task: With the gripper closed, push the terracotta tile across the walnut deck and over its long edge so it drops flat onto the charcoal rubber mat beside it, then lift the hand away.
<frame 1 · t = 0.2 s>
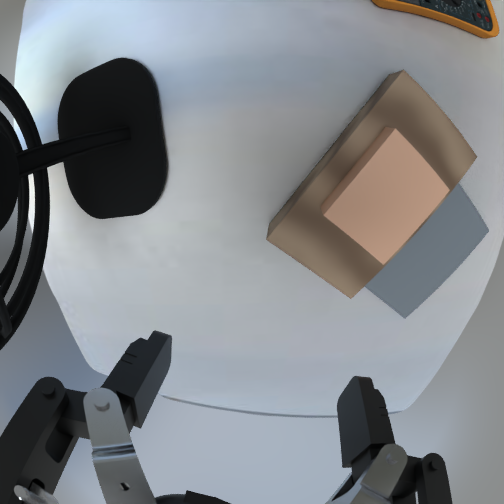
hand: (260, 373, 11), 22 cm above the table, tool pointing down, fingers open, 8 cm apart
tile: (383, 193, 23), point 4 cm above the table, touching deck
mat: (427, 250, 29), on the table
desk fan: (104, 139, 28), on the table
deck: (372, 183, 27), on the table
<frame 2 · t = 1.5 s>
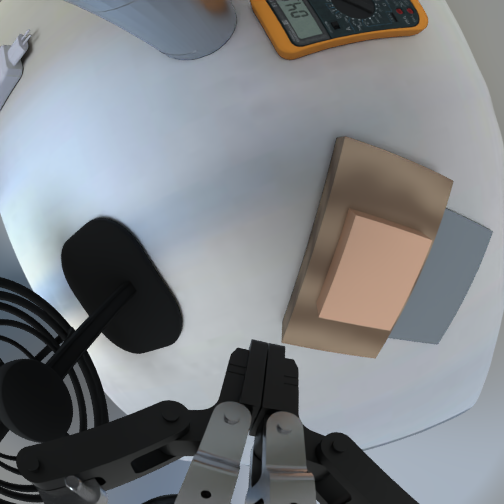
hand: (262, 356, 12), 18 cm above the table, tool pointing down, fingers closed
tile: (370, 268, 25), point 4 cm above the table, touching deck
charger: (16, 67, 23), on the table
mat: (436, 282, 28), on the table
multimeter: (342, 15, 19), on the table
desk fan: (114, 290, 35), on the table
deck: (360, 252, 28), on the table
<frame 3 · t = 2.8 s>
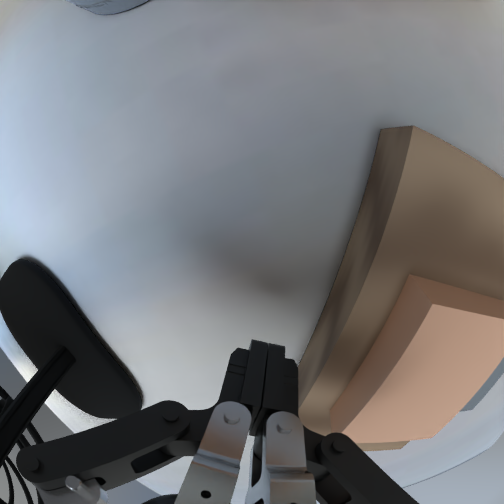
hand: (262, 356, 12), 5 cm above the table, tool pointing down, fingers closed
tile: (422, 363, 12), point 4 cm above the table, touching deck
mat: (489, 346, 16), on the table
desk fan: (58, 346, 22), on the table
deck: (402, 323, 16), on the table
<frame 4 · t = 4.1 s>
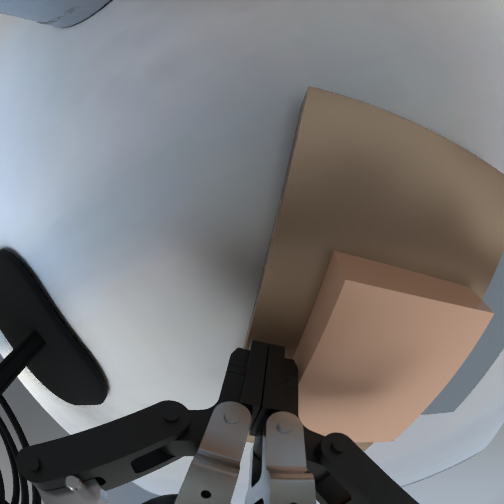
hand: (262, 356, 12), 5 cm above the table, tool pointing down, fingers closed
tile: (370, 355, 12), point 4 cm above the table, touching deck, gripper
mat: (466, 342, 16), on the table
desk fan: (35, 333, 23), on the table
deck: (350, 312, 16), on the table
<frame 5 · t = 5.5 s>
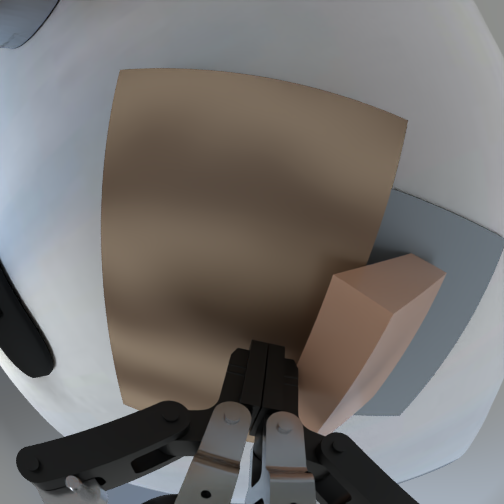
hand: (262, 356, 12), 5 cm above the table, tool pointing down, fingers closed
tile: (345, 345, 13), point 3 cm above the table, tilted 43°, touching gripper
mat: (394, 333, 16), on the table
desk fan: (1, 308, 23), on the table
deck: (225, 284, 16), on the table
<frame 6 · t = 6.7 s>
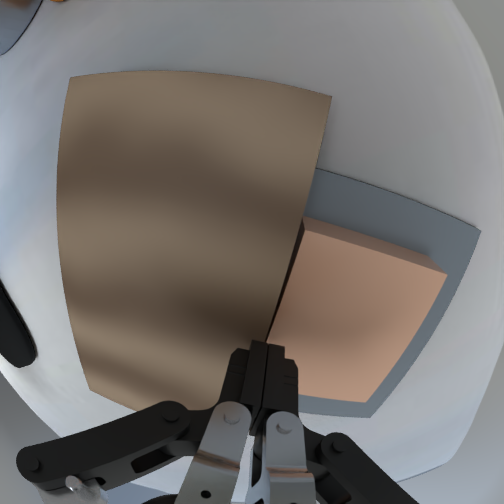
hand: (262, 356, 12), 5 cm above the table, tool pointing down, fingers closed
tile: (339, 313, 15), point 1 cm above the table, touching mat
mat: (354, 330, 17), on the table
deck: (174, 274, 16), on the table
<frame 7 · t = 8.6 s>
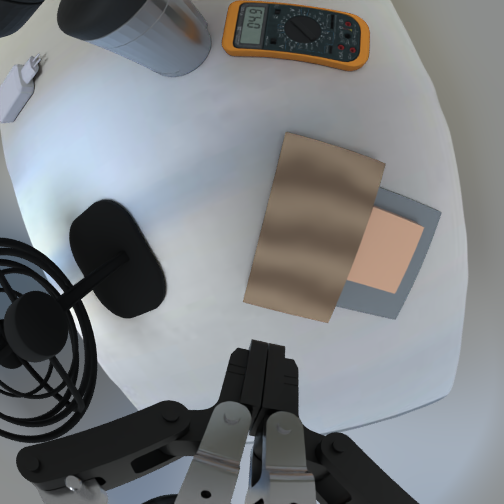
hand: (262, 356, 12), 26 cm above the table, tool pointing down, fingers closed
tile: (380, 246, 34), point 1 cm above the table, touching mat
charger: (28, 83, 32), on the table
mat: (386, 257, 35), on the table
multimeter: (297, 37, 27), on the table
desk fan: (112, 261, 42), on the table
deck: (309, 228, 35), on the table
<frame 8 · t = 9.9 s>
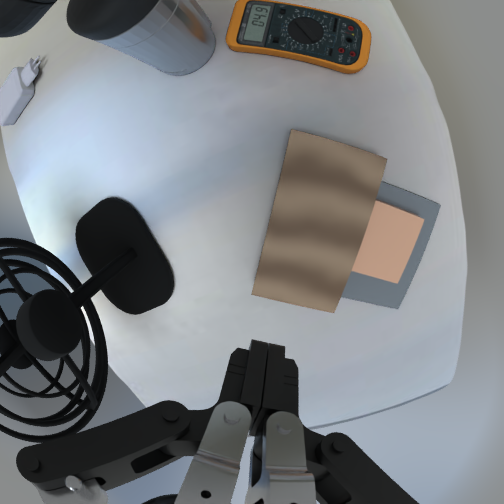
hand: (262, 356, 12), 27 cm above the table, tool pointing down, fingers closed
tile: (382, 238, 35), point 1 cm above the table, touching mat
charger: (28, 86, 32), on the table
mat: (388, 249, 36), on the table
multimeter: (299, 37, 27), on the table
desk fan: (119, 258, 43), on the table
deck: (314, 221, 36), on the table
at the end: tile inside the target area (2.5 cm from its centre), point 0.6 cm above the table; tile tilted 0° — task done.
